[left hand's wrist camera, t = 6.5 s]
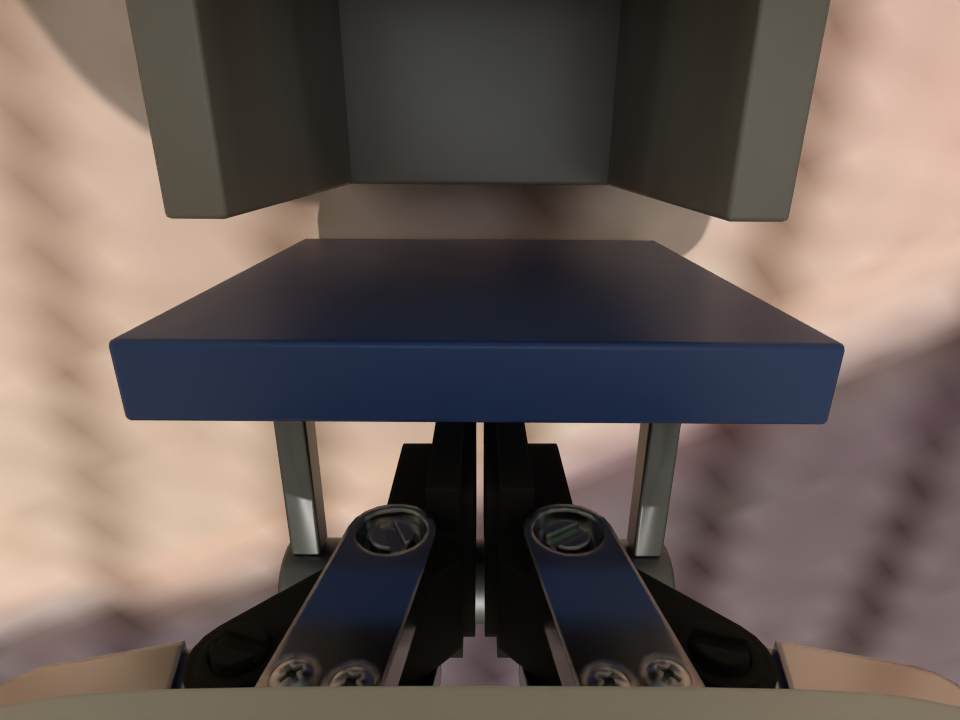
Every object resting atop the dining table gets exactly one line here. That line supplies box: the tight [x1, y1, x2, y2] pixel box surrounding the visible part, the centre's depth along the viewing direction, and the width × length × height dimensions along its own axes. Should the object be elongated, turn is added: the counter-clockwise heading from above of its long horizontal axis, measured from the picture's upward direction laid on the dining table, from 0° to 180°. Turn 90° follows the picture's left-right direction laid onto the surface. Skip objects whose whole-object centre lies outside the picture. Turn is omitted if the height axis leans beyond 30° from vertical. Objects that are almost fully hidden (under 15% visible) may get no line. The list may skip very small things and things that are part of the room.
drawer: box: [109, 0, 844, 624], centre depth 11 cm, size 18×10×9 cm, turn 0°
